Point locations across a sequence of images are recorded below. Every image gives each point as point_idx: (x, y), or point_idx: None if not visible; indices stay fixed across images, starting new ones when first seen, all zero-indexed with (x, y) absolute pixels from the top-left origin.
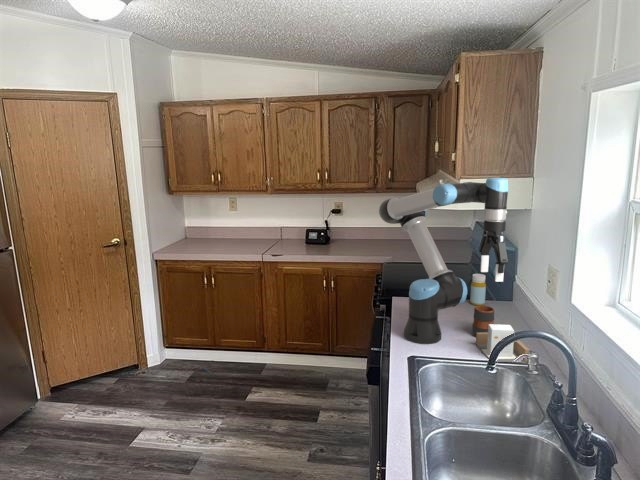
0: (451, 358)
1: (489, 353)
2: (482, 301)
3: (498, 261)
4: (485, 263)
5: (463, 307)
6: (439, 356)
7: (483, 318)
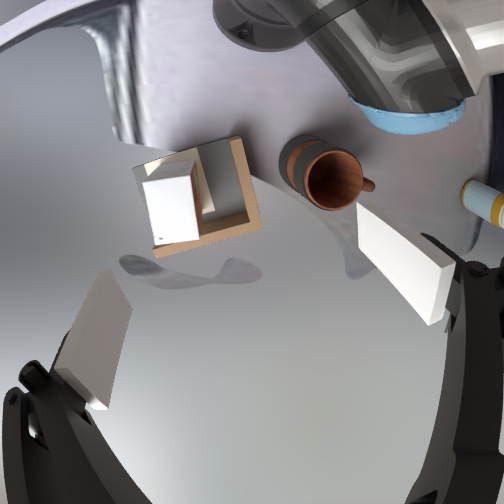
0: (135, 75)
1: (166, 164)
2: (466, 204)
3: (33, 395)
4: (393, 260)
5: (456, 157)
6: (142, 49)
7: (296, 168)
